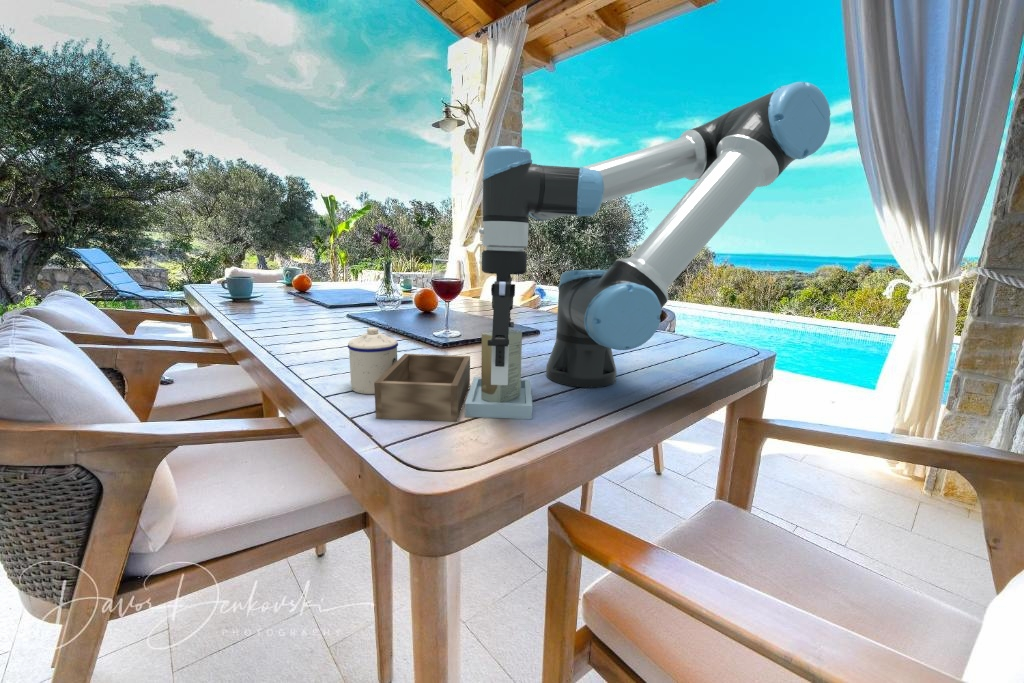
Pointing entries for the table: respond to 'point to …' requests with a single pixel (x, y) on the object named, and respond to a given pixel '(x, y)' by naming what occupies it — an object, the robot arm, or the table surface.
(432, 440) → the table surface
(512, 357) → the skincare box
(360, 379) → the cream lidded jar
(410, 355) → the caddy
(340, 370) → the table surface
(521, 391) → the tray
